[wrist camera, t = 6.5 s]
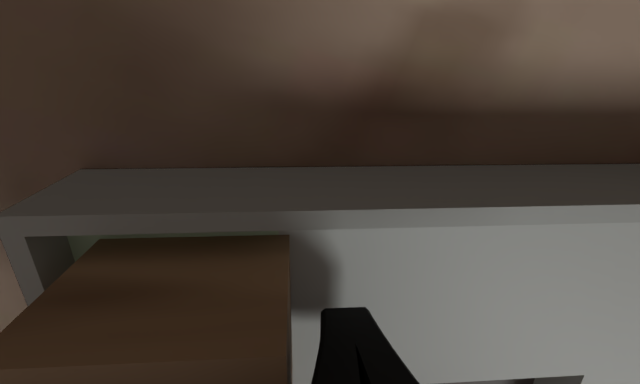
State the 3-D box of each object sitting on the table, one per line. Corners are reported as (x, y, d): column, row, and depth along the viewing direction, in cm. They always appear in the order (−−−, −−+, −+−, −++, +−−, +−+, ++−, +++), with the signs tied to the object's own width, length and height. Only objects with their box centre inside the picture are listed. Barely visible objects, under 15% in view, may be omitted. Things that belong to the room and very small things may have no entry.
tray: (598, 438, 17) (661, 517, 14) (163, 470, 16) (132, 566, 13) (741, 162, 12) (892, 199, 9) (80, 169, 10) (-9, 216, 7)
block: (292, 366, 11) (291, 522, 7) (136, 374, 11) (53, 542, 7) (289, 234, 9) (285, 356, 5) (99, 238, 9) (-42, 371, 5)
